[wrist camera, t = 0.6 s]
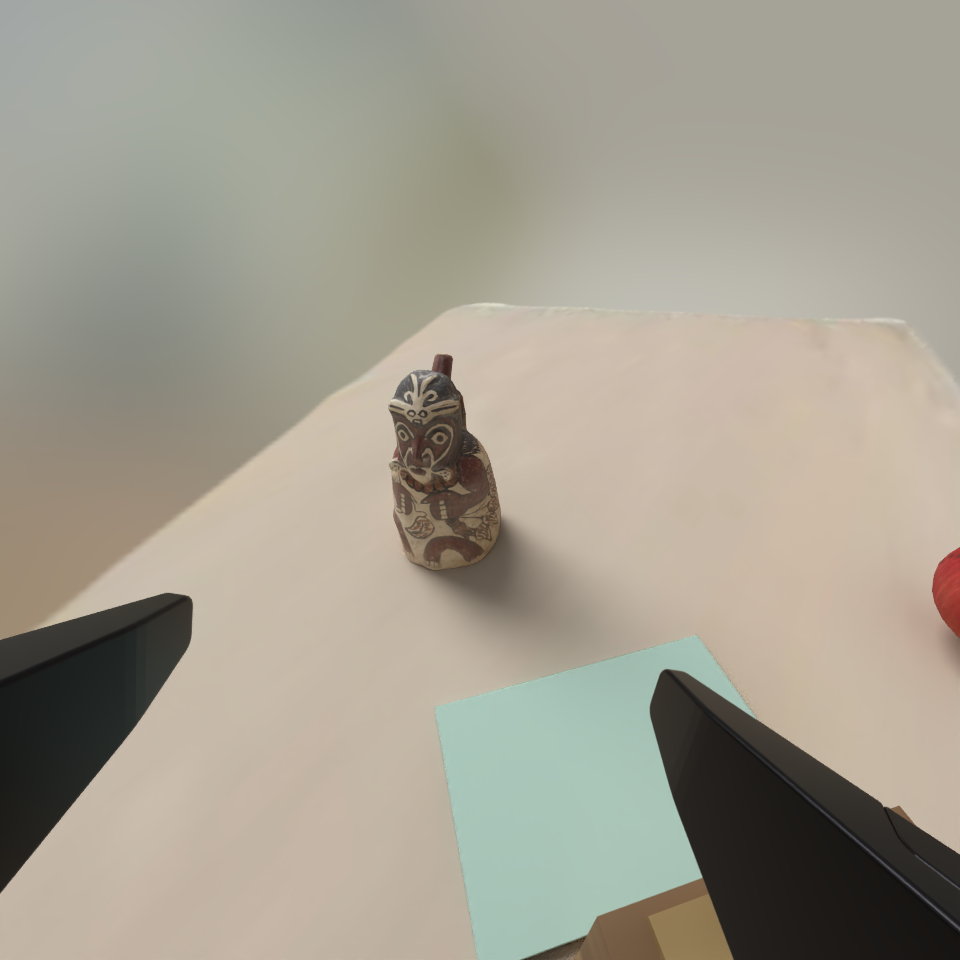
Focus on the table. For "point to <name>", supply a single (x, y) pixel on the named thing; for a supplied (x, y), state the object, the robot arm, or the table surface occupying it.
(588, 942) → the menu stand
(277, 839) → the table surface
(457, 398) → the figurine
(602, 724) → the mat
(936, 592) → the onion
